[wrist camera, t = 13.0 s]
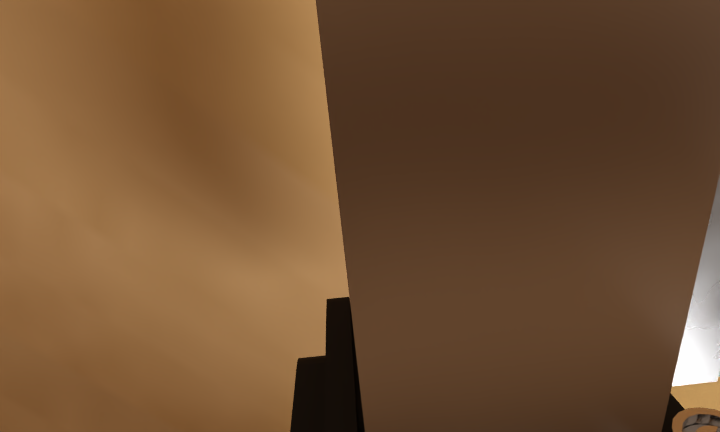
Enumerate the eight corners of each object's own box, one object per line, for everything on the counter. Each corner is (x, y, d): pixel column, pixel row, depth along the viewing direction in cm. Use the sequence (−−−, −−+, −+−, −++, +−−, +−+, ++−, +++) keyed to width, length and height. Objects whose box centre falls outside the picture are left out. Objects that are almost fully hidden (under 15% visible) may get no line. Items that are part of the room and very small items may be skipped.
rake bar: (496, 554, 17) (575, 814, 12) (385, 567, 17) (411, 834, 12) (530, -246, 8) (929, -755, 3) (299, -226, 8) (235, -708, 3)
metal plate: (683, 349, 26) (717, 381, 24) (504, 368, 26) (520, 402, 24) (785, -127, 18) (852, -148, 16) (521, -102, 18) (549, -119, 15)
